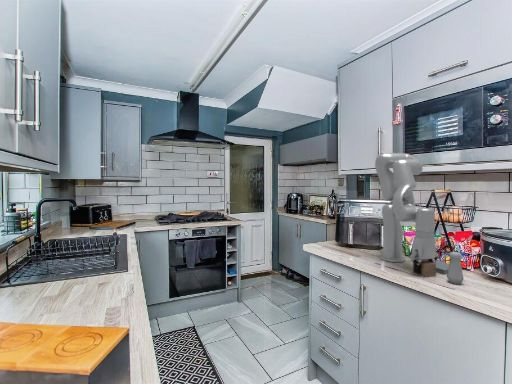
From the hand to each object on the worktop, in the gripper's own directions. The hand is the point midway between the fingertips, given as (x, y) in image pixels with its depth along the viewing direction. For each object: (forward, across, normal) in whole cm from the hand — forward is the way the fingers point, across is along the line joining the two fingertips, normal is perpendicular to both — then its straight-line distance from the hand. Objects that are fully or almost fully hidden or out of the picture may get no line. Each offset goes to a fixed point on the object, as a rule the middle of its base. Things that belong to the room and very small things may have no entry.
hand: (424, 271), depth 124 cm
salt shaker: (+1, -3, +12) cm, 12 cm away
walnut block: (+1, 0, 0) cm, 1 cm away
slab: (+1, -15, -3) cm, 15 cm away
